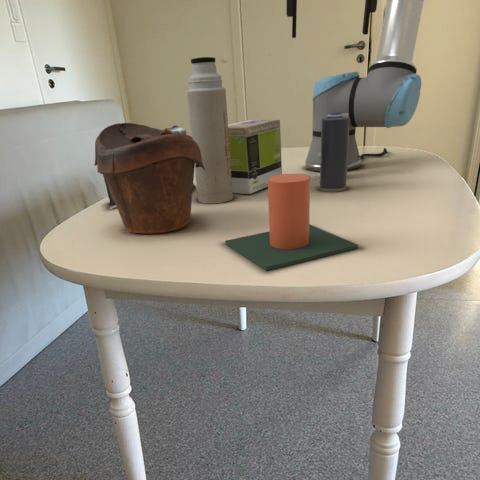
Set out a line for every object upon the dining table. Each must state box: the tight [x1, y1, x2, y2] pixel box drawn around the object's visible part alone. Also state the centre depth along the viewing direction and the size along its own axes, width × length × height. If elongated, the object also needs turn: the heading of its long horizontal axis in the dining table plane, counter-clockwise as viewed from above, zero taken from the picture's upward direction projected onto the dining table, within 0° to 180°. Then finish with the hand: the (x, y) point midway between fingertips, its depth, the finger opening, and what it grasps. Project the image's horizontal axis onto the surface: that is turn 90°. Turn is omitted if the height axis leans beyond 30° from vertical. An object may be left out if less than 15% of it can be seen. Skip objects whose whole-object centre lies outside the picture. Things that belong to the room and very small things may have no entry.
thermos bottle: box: [186, 56, 234, 204], centre depth 95 cm, size 8×8×28 cm
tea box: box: [228, 119, 283, 195], centre depth 107 cm, size 15×10×15 cm, turn 145°
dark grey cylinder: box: [318, 117, 350, 193], centre depth 100 cm, size 6×6×15 cm
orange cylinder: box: [267, 173, 311, 249], centre depth 68 cm, size 6×6×10 cm
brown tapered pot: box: [93, 122, 206, 235], centre depth 82 cm, size 18×20×18 cm
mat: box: [225, 223, 359, 272], centre depth 71 cm, size 16×14×1 cm
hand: (329, 35), depth 87 cm, fingers open, 13 cm apart
